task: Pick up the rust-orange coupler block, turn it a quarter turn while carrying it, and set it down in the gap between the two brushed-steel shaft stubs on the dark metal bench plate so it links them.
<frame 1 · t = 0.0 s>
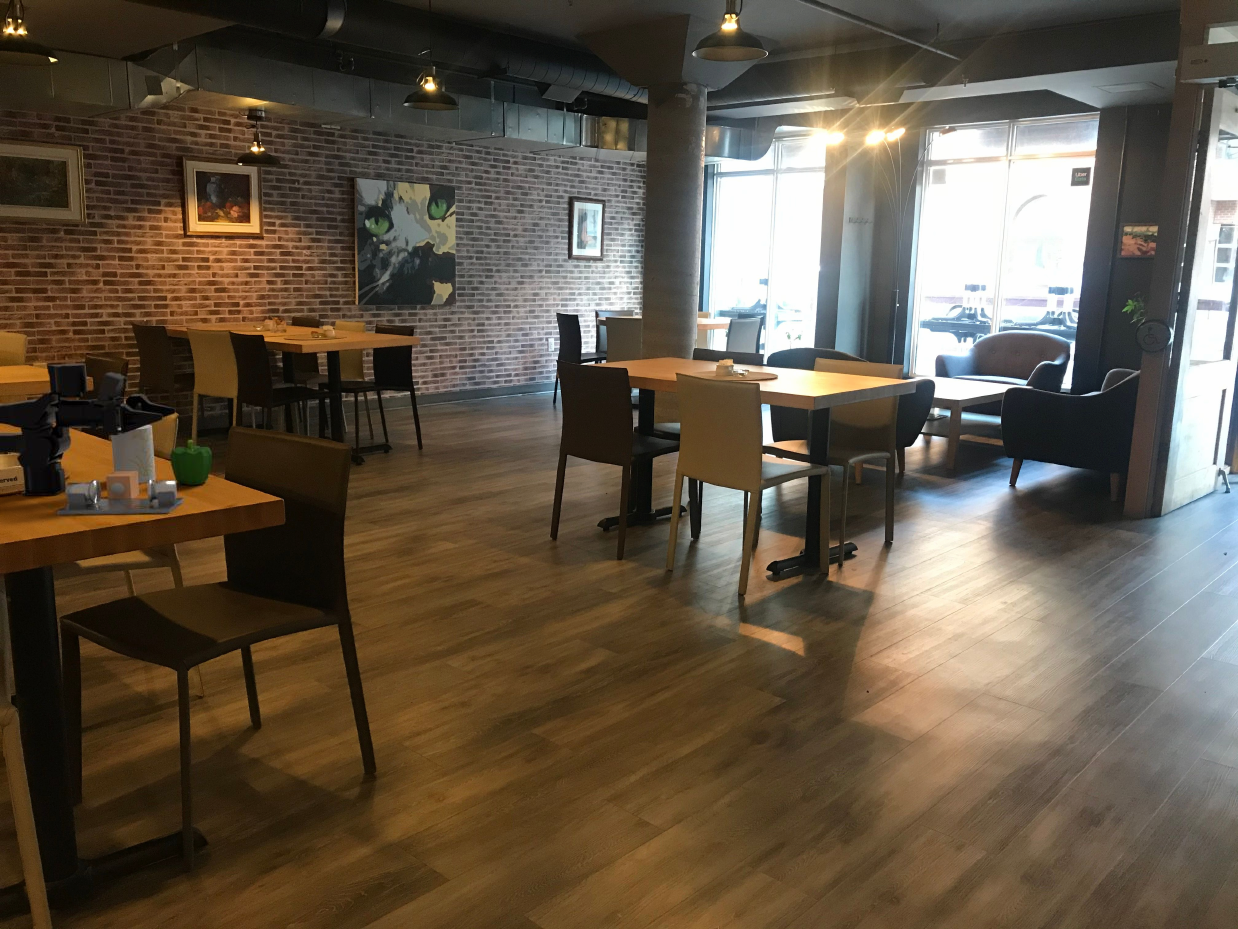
hand: (168, 413, 203), 17 cm above the table, tool horizontal, fingers open, 9 cm apart
shaft b: (149, 507, 191), resting on bench
bell pepper: (192, 484, 214), on the table
bench: (122, 508, 190), on the table
cup: (135, 481, 215), on the table
coupler: (123, 497, 199), on the table
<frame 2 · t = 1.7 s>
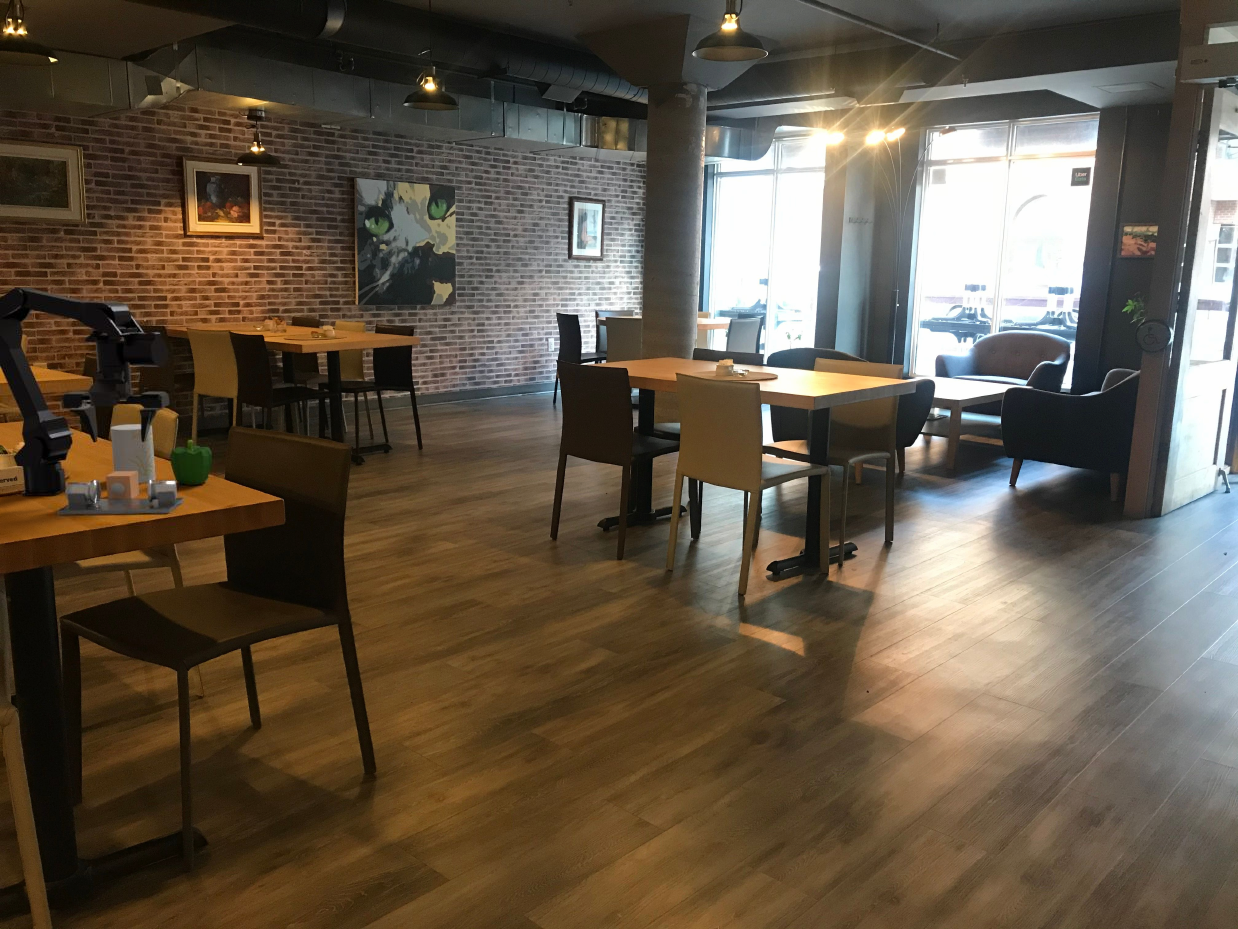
hand: (119, 442, 197), 11 cm above the table, tool pointing down, fingers open, 9 cm apart
nothing on the table moved.
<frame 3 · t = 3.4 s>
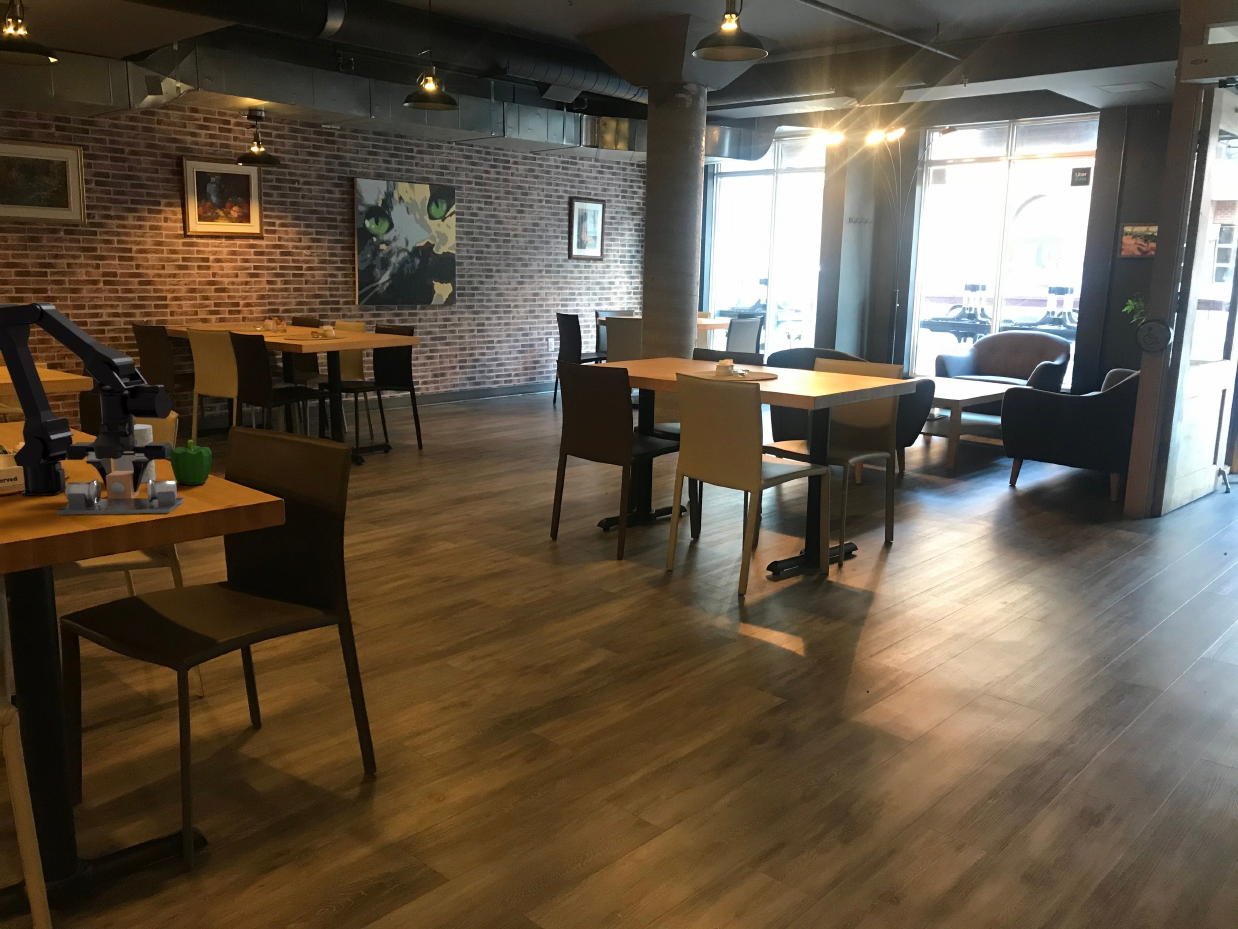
hand: (123, 492, 199), 1 cm above the table, tool pointing down, fingers closed on coupler, 4 cm apart
coupler: (123, 497, 199), on the table, touching gripper
everything else where it was.
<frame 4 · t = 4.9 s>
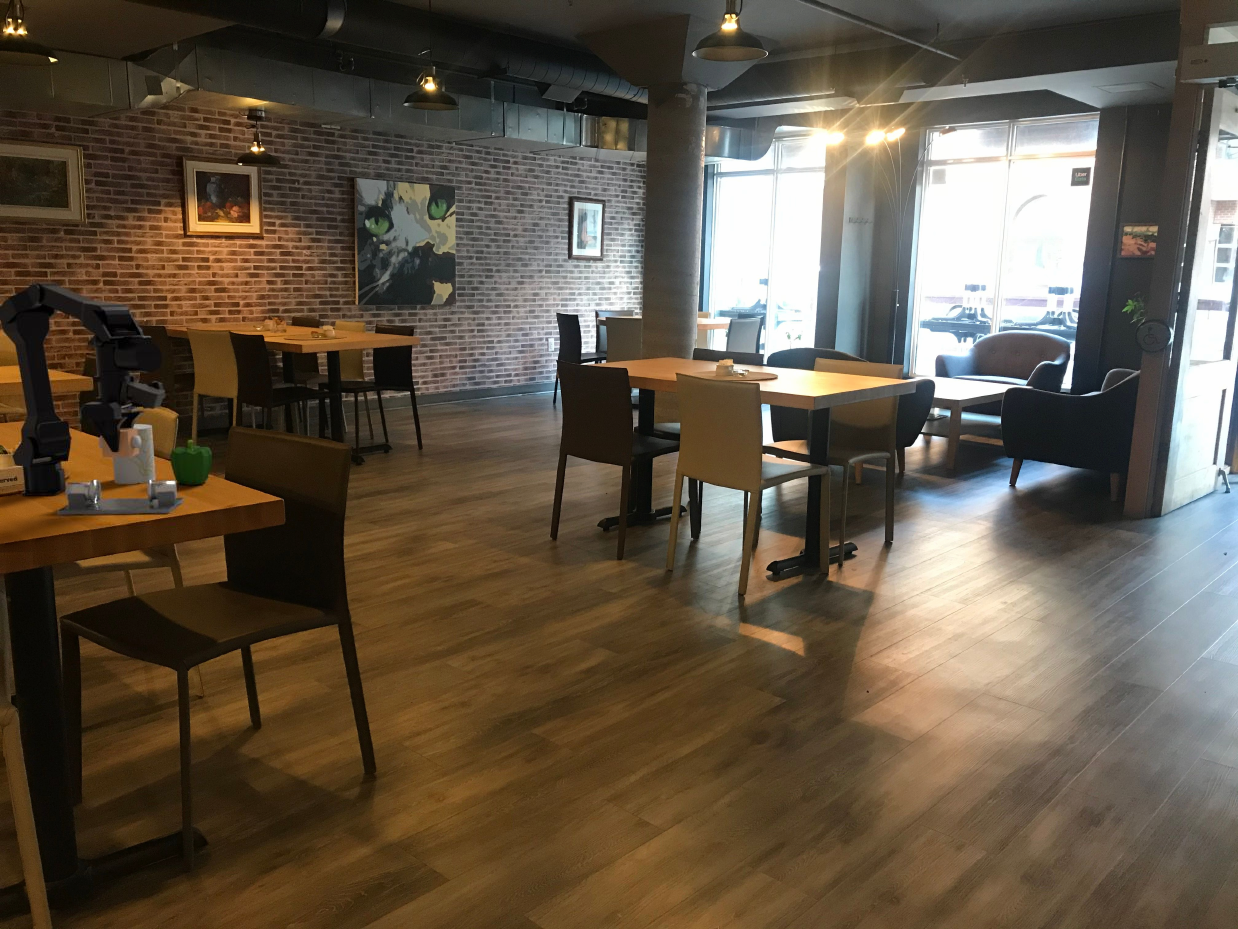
hand: (120, 450, 189), 11 cm above the table, tool pointing down, fingers closed on coupler, 4 cm apart
coupler: (121, 455, 190), point 10 cm above the table, touching gripper
everything else where it was.
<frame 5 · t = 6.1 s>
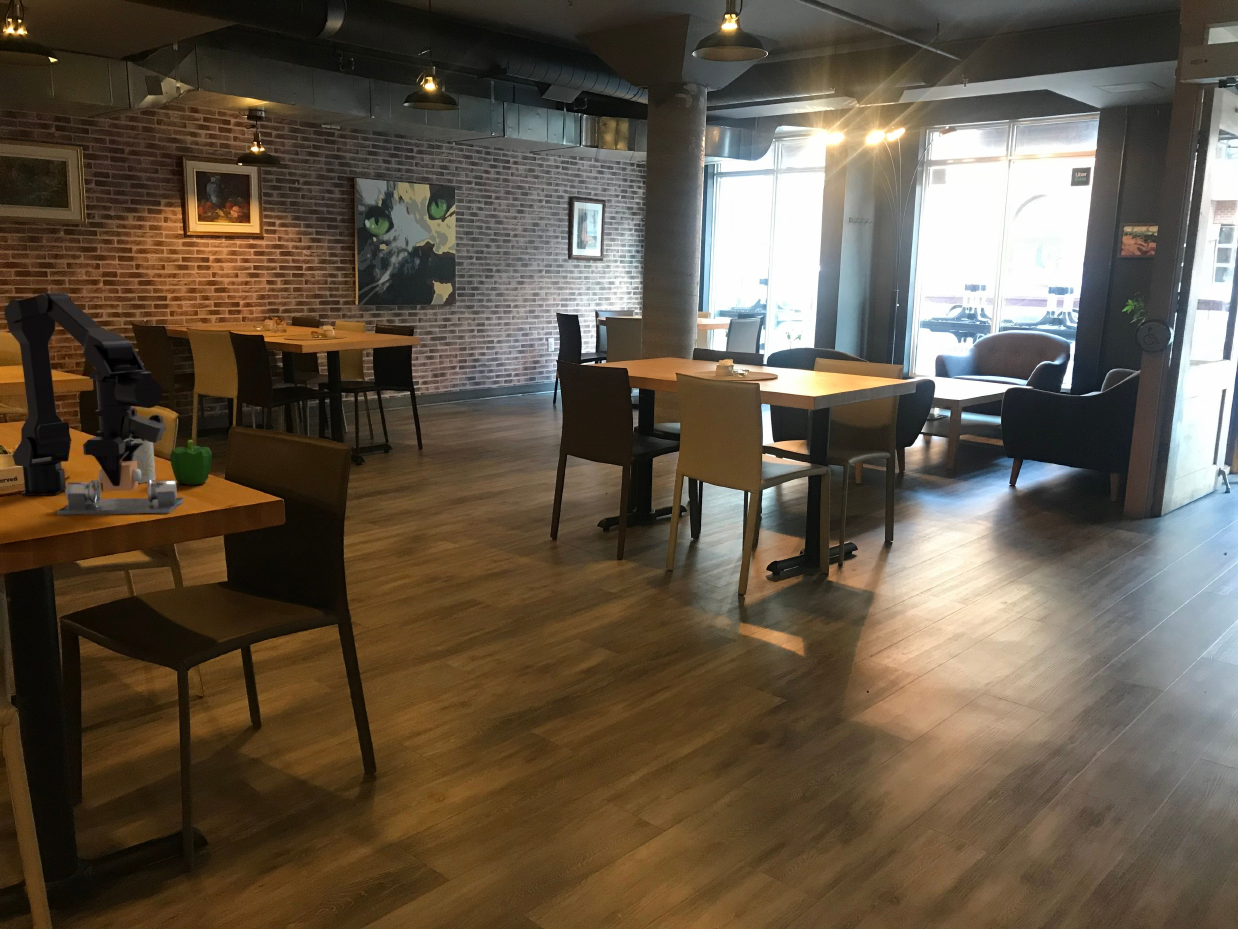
hand: (120, 483, 189), 5 cm above the table, tool pointing down, fingers closed on coupler, 4 cm apart
coupler: (121, 488, 190), point 4 cm above the table, touching gripper
everything else where it was.
when the fingers open (3 cm above the table, at t = 6.8 s): coupler drops 1 cm, resting on bench.
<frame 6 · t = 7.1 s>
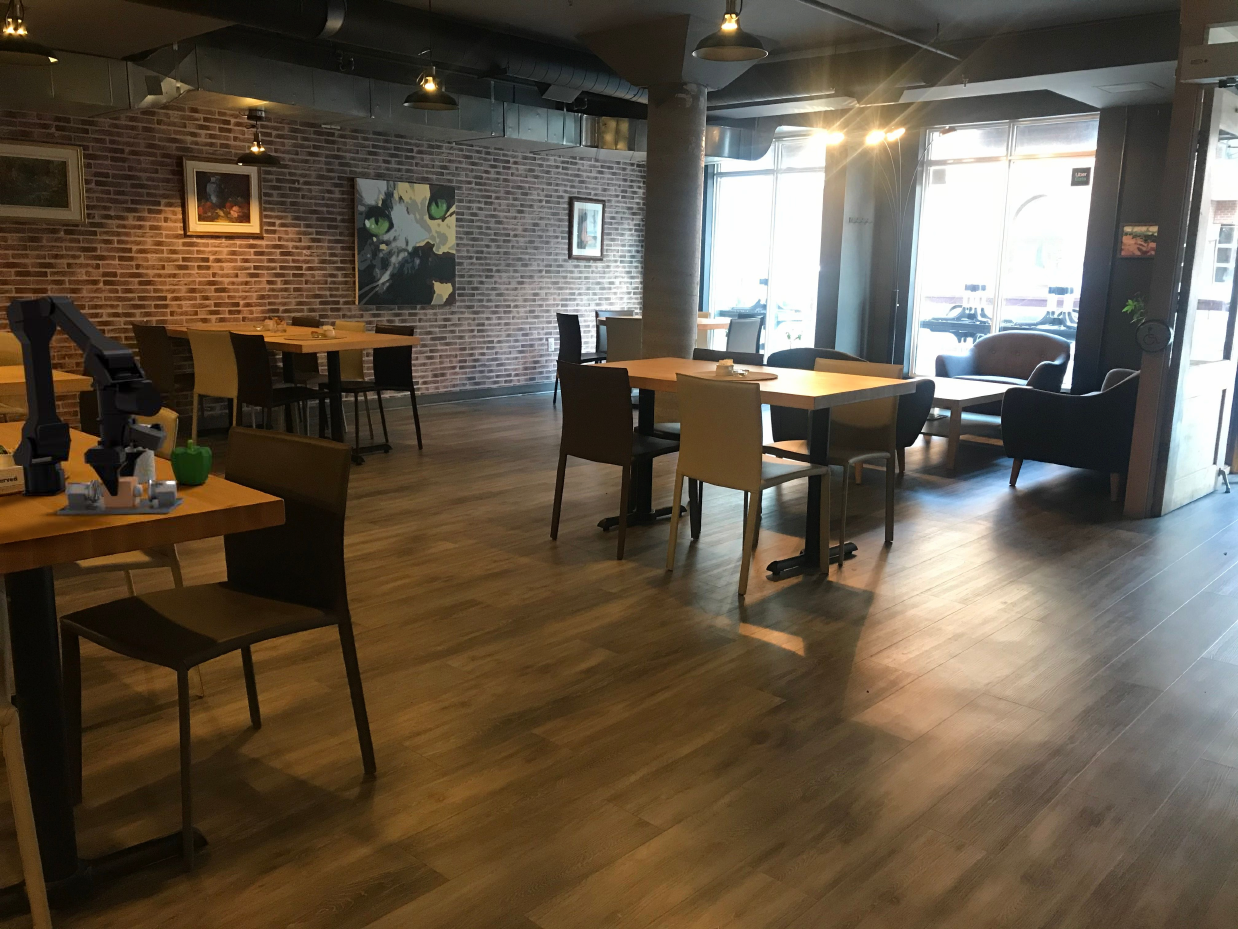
hand: (121, 491, 190), 3 cm above the table, tool pointing down, fingers open, 8 cm apart
coupler: (122, 504, 190), point 1 cm above the table, touching bench
everything else where it was.
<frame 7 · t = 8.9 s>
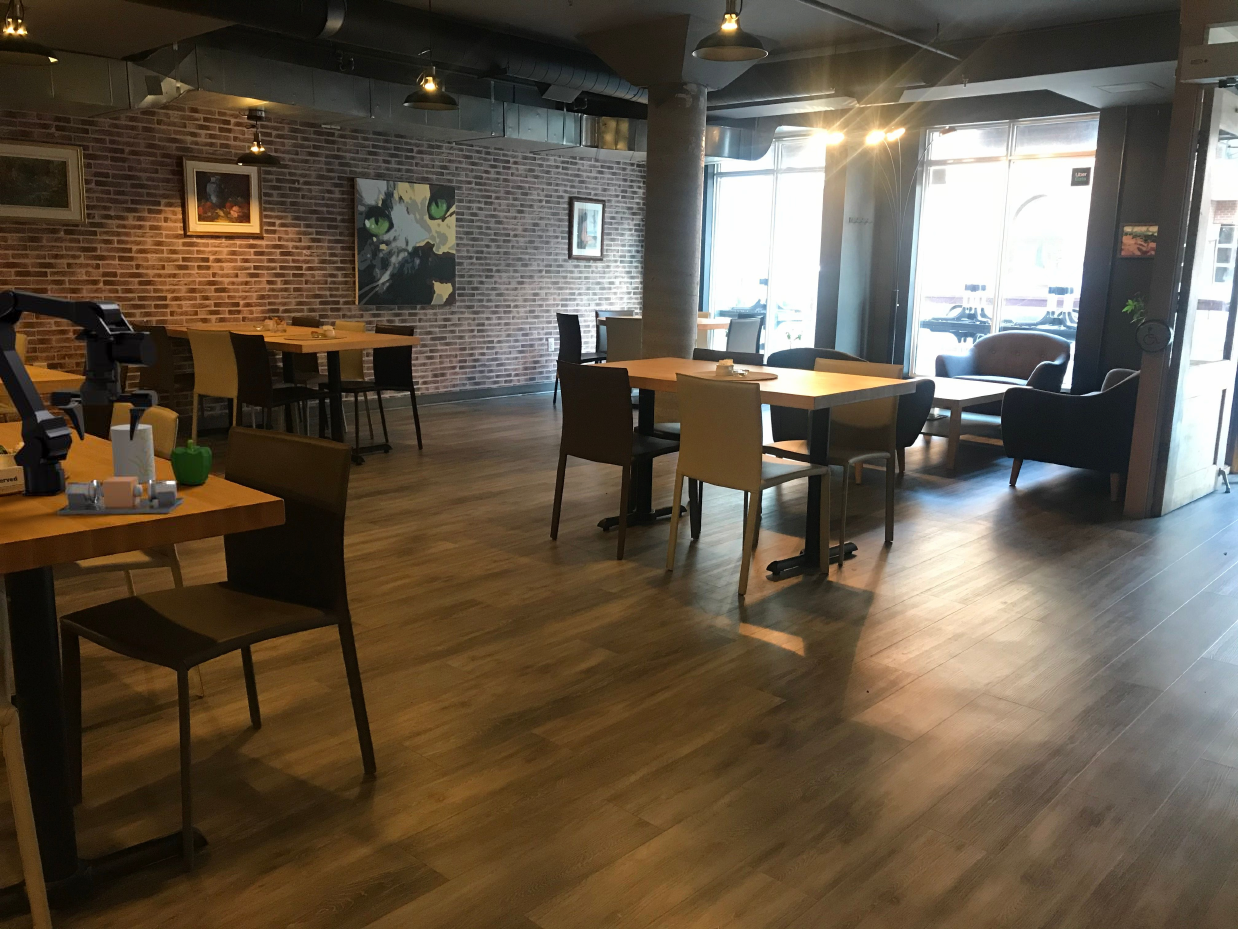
hand: (107, 440, 197), 12 cm above the table, tool pointing down, fingers open, 9 cm apart
nothing on the table moved.
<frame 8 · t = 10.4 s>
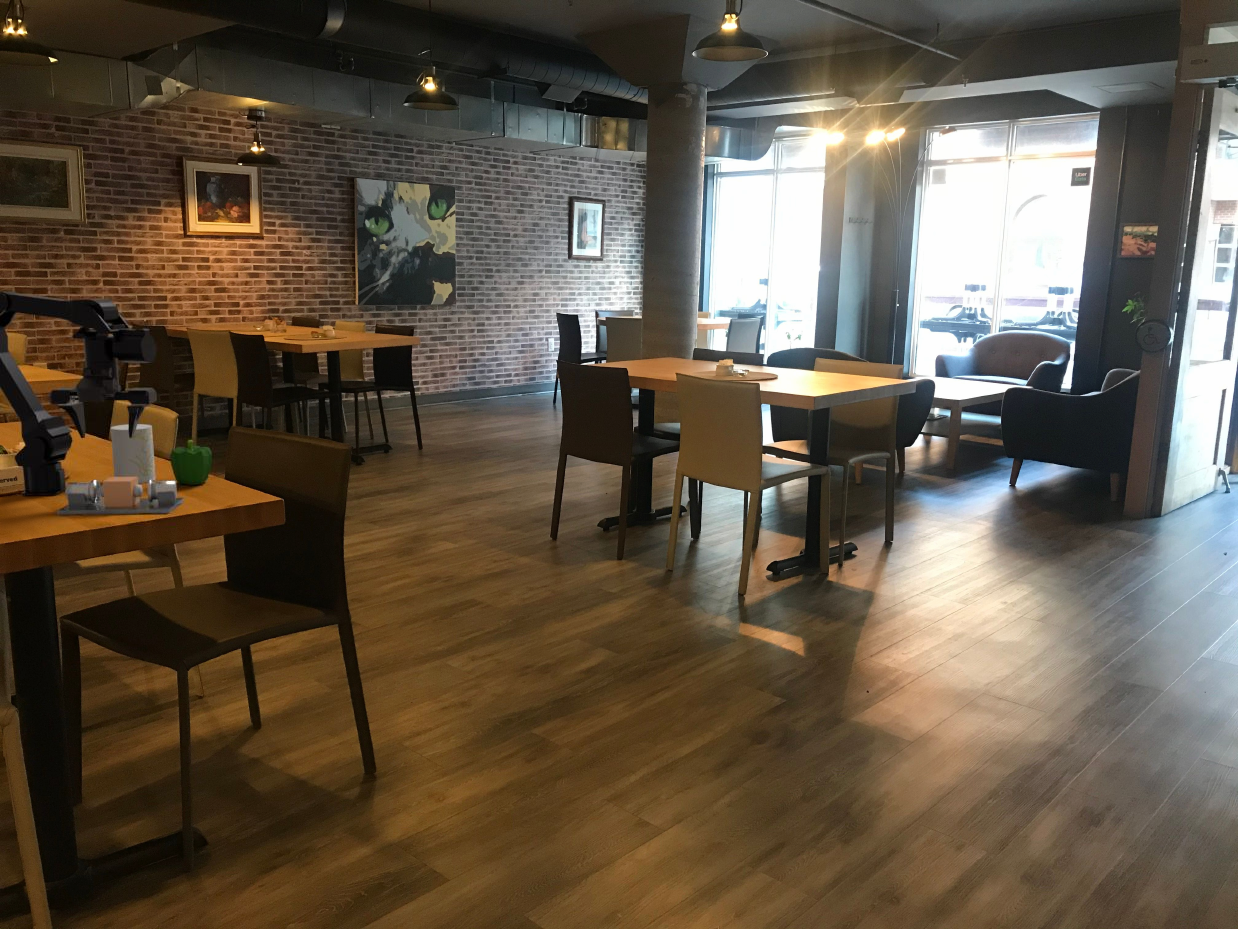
hand: (107, 437, 199), 12 cm above the table, tool pointing down, fingers open, 9 cm apart
nothing on the table moved.
at the end: coupler 0.0 cm from the target spot, point 0.8 cm above the table; coupler tilted 0°; the gripper is holding nothing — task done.
